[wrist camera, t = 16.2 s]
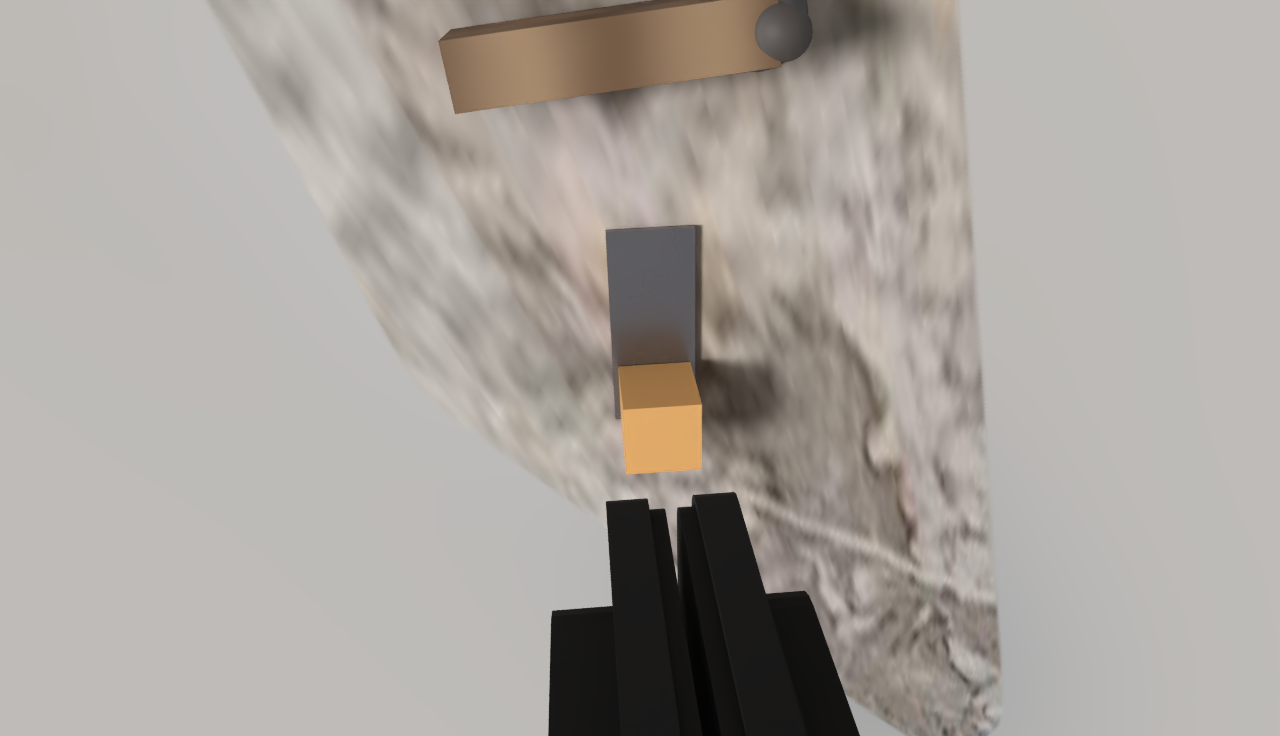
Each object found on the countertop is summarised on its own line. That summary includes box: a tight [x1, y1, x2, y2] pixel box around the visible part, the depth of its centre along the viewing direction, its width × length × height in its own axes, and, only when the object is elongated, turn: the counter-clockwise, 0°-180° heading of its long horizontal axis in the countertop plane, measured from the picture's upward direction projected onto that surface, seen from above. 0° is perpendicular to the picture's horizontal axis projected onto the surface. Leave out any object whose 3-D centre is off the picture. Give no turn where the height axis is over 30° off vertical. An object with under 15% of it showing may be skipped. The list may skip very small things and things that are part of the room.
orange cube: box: [618, 362, 702, 474], centre depth 39 cm, size 4×4×4 cm
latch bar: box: [438, 0, 813, 114], centre depth 30 cm, size 13×2×5 cm, turn 97°
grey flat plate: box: [606, 225, 695, 419], centre depth 39 cm, size 10×4×1 cm, turn 2°
